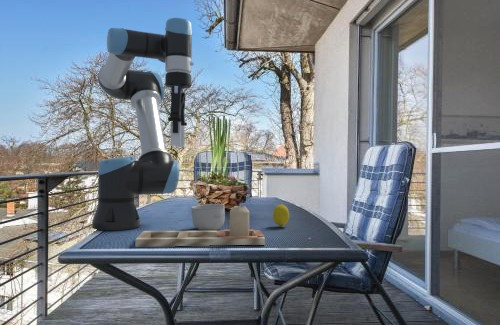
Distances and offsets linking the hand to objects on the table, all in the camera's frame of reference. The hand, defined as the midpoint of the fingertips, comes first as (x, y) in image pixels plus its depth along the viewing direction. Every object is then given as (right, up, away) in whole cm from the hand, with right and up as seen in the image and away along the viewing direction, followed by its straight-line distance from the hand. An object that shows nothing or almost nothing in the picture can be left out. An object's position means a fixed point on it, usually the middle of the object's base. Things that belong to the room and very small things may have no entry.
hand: (177, 146), depth 119 cm
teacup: (+8, -27, +15) cm, 32 cm away
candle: (+18, -27, -5) cm, 33 cm away
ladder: (+8, -27, -6) cm, 29 cm away
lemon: (+32, -27, +20) cm, 46 cm away
